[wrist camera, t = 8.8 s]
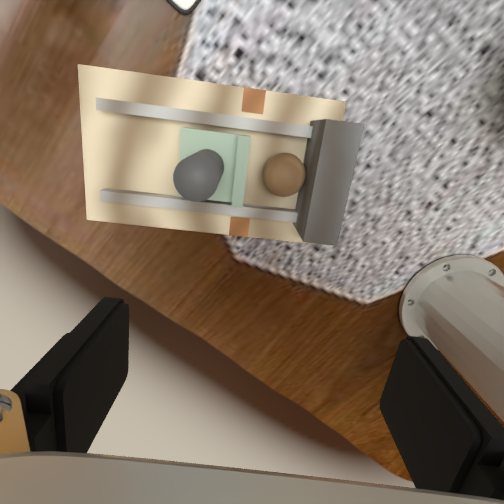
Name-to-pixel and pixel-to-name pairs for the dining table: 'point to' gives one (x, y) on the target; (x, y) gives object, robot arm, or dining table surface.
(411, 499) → the robot arm
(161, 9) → the dining table surface
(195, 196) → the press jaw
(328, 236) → the press frame
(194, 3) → the cell phone
